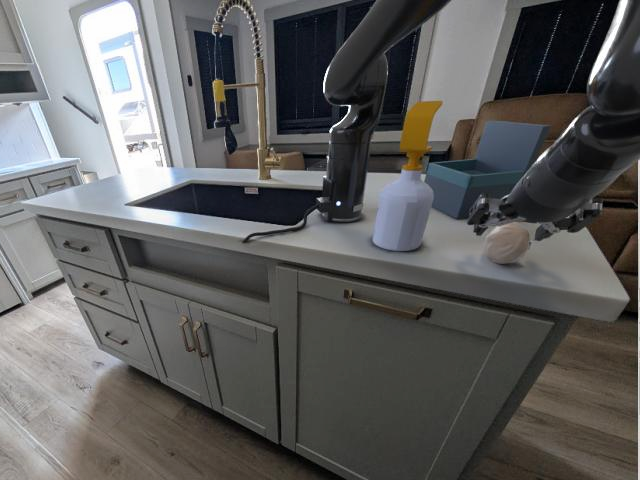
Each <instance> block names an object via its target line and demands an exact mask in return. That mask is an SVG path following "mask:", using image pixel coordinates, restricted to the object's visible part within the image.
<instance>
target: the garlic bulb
mask: <svg viewBox="0 0 640 480" xmlns="http://www.w3.org/2000/svg"><path fill="white" fill-rule="evenodd" d="M530 238H531V235H530V231H529V229H527V228H525V227H524V226H523V225H520V222H512V223H509V224H505V225H502V226H495V228H494V229H492V230H491V231H490V232H489V233H488V234H487V236H486V237H485V239H484V241H483V244H482V245H483V246H482V248H483V253H484V256H486V257H487V258H489V259H490V261H492V262H494V263H495V264H503V265H505V264H513V263H516V262H518V261H520V260H521V259H523V258H524V256H525V255H526V254H527V252H528V251H529V250H530V249H531V246H532V241H530V240H531V239H530Z"/></svg>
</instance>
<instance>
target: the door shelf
mask: <svg viewBox="0 0 640 480" xmlns="http://www.w3.org/2000/svg"><path fill="white" fill-rule="evenodd" d="M551 128H552V125H550V124H549V125H548V124H540V123H539V124H537V123H528V122H527V123H525V122H516V121H515V122H514V121H505V120H486V121H485V125H484V128H483V131H482V134H481V137H480V140H479V144H478V147H477V150H476V153H475V156H474V158H470V159H469V158H468V159H458V160H447V161H437V162H436V161H435V162H428V165H427V168H426V171H425V177H424V180H423V182H425V183H426V184H428V185H429V186H430V188H431V189H432V190H433V195H434V199H433V202H432V206H431V208H434V209H436V210H438V211H440V212H442V213H444V214H446V215H448V216H450V217H452V218H454V219H456V220H462V219H468V218H469V210H470V209H471V207H472V206H473V205H474V203H475V202H476V200H477V199H478V198H479V196H480V195H481V194H484V193H488V194H490V199H502V198H503V197H505V196H507V195H509V194H510V193H511V191H512V190H513V188H514V187H515V186H516V184H517V183H518V182H519V181H520V180H521V178H522V177H523V176H524V175H525V174H526V172H527V171H528V170H529V169H530V168H531V166H532V165H533V164H534V163H535V162H536V160H537V159H538V158H539V156H540V153H541V151H542V148H543V147H544V143H545V141H546V140H547V137H548V134H549V132H550V130H551ZM492 216H493V215H491V216H490V217H492Z"/></svg>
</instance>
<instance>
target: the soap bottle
mask: <svg viewBox="0 0 640 480" xmlns="http://www.w3.org/2000/svg"><path fill="white" fill-rule="evenodd" d="M442 106H443V100H424V101H423V100H422V101H417V102H415V103H414V104H413V105H412V106H411V107H410V109H408V110H407V113H406V114H405V118H404V122H403V127H402V132H401V137H400V143H399V149H398V150H399V152H401V153H406V157H407V158H408V162H407V164H402V167H401V172H400V176H399V178H398V179H397V180H394V181H392V182H390V183H388V184H387V185H386V186H385V187H383V188H382V190H381V192H380V195H379V200H378V207H377V212H376V218H375V223H374V229H373V234H372V242H373V244H374V245H376V246H377V247H379V248H381V249H383V250H387V251H393V252H408V251H414V250H416V249H418V248H419V247H420V246H421V245H422V242H423V239H424V235H425V232H426V227H427V224H428V220H429V217H430V213H431V210H432V202H433V199H434V195H433V190H432V189H431V188H430V186H429V185H428V184H426V183H425V182H424V180H422V178H421V177H422V173H423V168H424V165H423V164H420V159H421V158H423V157H425V154H426V153H428V152H430V151H432V150H433V146H430V145H427V144H428V141H429V135H430V132H431V128H432V123H433V120H434V117H435V115H436V113H437V112H438V111H439V109H440V108H441V107H442Z"/></svg>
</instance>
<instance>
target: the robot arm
mask: <svg viewBox="0 0 640 480" xmlns="http://www.w3.org/2000/svg"><path fill="white" fill-rule="evenodd" d="M451 2H452V0H375V2H374V3H373V4H372V6H371V8H370V9H369V11H368V12H367V13H366V15H365V16H364V18H363V19H362V20H361V22H360V23H359V24H358V26H357V27H356V28H355V30H353V32H352V33H351V34H350V36H349V37H348V38H347V39H346V41H345V42H344V43H343V44H342V46H341V47H340V48H339V50H338V51H337V53H335V55H334V57H333V58H332V60H331V62H330V63H329V65H328V67H327V70H326V73H325V75H324V80H323V95H324V98H325V101H326V102H328V104H330V105H332V106H335V107H348V111H347V114H346V115H345V116H344V118H343V119H342V120H341V121H339V122H338V123H336V124H334V125H333V126H332V127H331V128H330V130H329V135H328V149H327V160H326V174H325V175H323V177H322V188H321V190H322V191H321V197H316V200H315V205H314V206H311V207H310V208H309V209H307V210H306V211H305V213H304V215H303V222H302V224H301V225H299V226H295V227H287V228H283V229H282V228H281V229H276V230H268V231H258V232H252V233H250V234H248V235H247V236H245V238H244V239H243V241H242V243H241V244H246V243H247V242H248V241H249V240H250V239H252V238H254V237H264V236H270V235H276V234H284V233H289V232H296V231H299V230H303V228H305V227H306V225H307V224H308V217H309V215H310V214H311V212H314V211H316V210H317V211H318V212H319V213H320V215H321V217H322V218H323V219H324V220H325V221H326V222H328V223H329V222H334V223H352V222H356V221H358V220H360V219H361V218H362V215H363V210H364V199H365V191H366V184H367V179H368V177H367V176H368V171H369V165H370V157H371V151H372V144H373V139H374V133H375V131H376V129H377V127H378V125H379V122H380V118H381V114H382V109H383V103H384V98H385V94H386V88H387V84H388V76H389V64H388V59H387V56H386V54H385V53H386V52H388V51H389V49H391V48H392V47H394V46H395V45H396V44H398V42H400V41H401V40H403V39H404V38H406V37H408V36H409V35H410V34H411V33H413V32H414V31H416V30H418V29H419V28H420V27H421V26H423V25H424V24H425V23H427V22H428V21H429V20H431V19H432V18H433V17H435V16H436V15H437V14H438V13H440V12H441V11H442V10H443V9H445V8H446V7H447V6H448V5H449V3H451ZM586 97H587V99H588V103H589V106H588V107H586V108H584V109H583V110H582V111H581V112H580V113H579V114H578V115H577V116H576V117H575V118H573V120H572V121H571V122H570V123H569V124H568V125H567V127H565V129H564V130H563V131H562V132H561V134H560V135H559V136H558V138H557V139H556V140H555V141H554V142H553V144H552V145H550V146H549V147H548V148H546V150H545V151H544V152H542V153H541V155H539V156H538V158H537V160H536V162H535V163H534V164H533V165H532V166H531V168H530V169H529V170H528V171H527V172H526V174H525V175H524V176H523V177H522V178H521V180H520V181H519V182H518V183H517V184H516V186H515V187H514V188H513V190H512V191H511V193H510V194H509V195H507V196H505V197H503V198H502V199H490V194H488V193H484V194H481V195H480V196H479V198H478V199H477V200H476V202H475V203H474V205H473V206H472V207H471V209H470V210H469V218H467V222H466V225H469V226H473V230H472V233H473V234H475V236H477V237H481V236H483V235H484V233H485V232H486V231H487V230H488V228H489V227H492V226H495V227H497V226H502V225H505V224H509V223H512V222H519V223H527V224H539V226H538V227H537V228H536V229H535V231H534V232H535V233H534V239H533V241H534V242H535V241H536V242H542V240H544V239H545V240H546V239H548V238H550V237H551V236H553V235H555V234H559V233H561V232H562V231H566V233H569V234H574V233H575V234H576V233H579V232H580V231H582V230H583V229H585V228H586V227H587V226H589V225H591V224H592V223H593V222H595V221H596V220H598V219H600V218H601V217H602V212H603V211H602V210H603V202H604V199H603V198H601V197H597V196H598V195H600V194H601V193H602V192H603V191H604V190H606V189H607V188H609V187H610V186H611V185H612V184H613V183H614V182H615V181H616V180H617V179H618V178H619V177H620V175H622V174H623V173H624V172H626V171H627V170H628V169H629V168H631V167H632V166H633V165H635V164H636V163H637V162H639V161H640V0H619V1H618V3H617V7H616V9H615V13H614V15H613V17H612V21H611V24H610V26H609V29H608V31H607V33H606V36H605V38H604V41H603V43H602V45H601V47H600V50H599V52H598V54H597V57H596V59H595V61H594V63H593V65H592V68H591V70H590V73H589V76H588V80H587V84H586ZM491 215H493V216H491Z"/></svg>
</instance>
